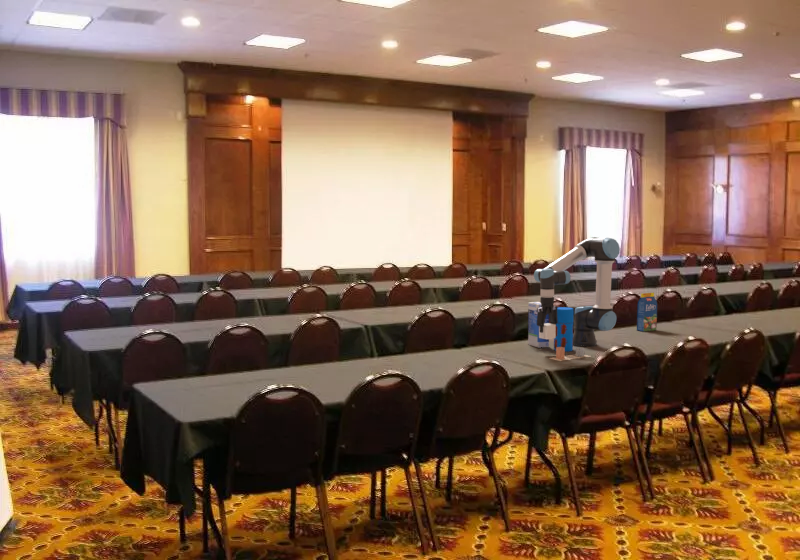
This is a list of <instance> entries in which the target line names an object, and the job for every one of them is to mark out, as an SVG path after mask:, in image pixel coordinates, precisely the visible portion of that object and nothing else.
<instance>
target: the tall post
mask: <svg viewBox="0 0 800 560" xmlns="http://www.w3.org/2000/svg"><path fill="white" fill-rule="evenodd" d="M555 352H556V353H555V357H556V358H557V359H565V356H566V355H565V353H566V352H565V348H564V347H556V351H555Z"/></svg>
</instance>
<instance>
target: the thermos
mask: <svg viewBox="0 0 800 560" xmlns="http://www.w3.org/2000/svg"><path fill="white" fill-rule="evenodd" d="M557 307H558V308H557V318H558V323H557V324H556V338H553V351H555V352H556V347H564V348H565V353H566V352H572V351H573V349H574V345H573V334H574V313H575V310H574V308H573V307H568V306H566V307H565V306H563V307H562V306H557Z"/></svg>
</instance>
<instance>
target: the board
mask: <svg viewBox="0 0 800 560" xmlns="http://www.w3.org/2000/svg"><path fill="white" fill-rule="evenodd" d="M589 357H591V355H588V354H584V356H582V357H579V356H576V353H575V354H574V353H573V354H569V355H568V354H567V355H565V359H557V358H556V356H555V357H549V358H548V359H550V360H555V361H559V362H562V361H567V360H568V361H569V360H576V359H582V358H589Z"/></svg>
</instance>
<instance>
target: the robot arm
mask: <svg viewBox="0 0 800 560" xmlns="http://www.w3.org/2000/svg"><path fill="white" fill-rule="evenodd" d="M620 251H621V248H620V244H619V243H618V241H617V240H616V239H615V238H610V237H595V236H594V237H593V236H592V237H589V238H587V239H584V240H581V241H580V242H579V243H577V244H576V245H574V246H573V249H571V250H570V251H568V252H567V253H565V254H563V255H562V256H561V257H559V258H558V259H556V260H554V261H553V262H552V263H550V264H548V265H547V266H546V267H544V268H537V269H536V270H534V273H533V279H534V281H536V282H538V283H539V284H540V285H539V286H540V301H539V302H540V303H541V308H537V326H540V338H543V339H544V338H545V327H544V323H545V319H546V315H547V313H548V315H549V323H550V324H557V323H558V318H557V308H558V307H559V306H557V305H554V304H555V297H554V296H555V286H558V285H566V284H569V283H570V282H571V280H572V279H571V278H572V276H571V273H570V272H569V271H568V270H567V269H569V268H570V267H572V266H573V265H574V264H576V263H577V262H579V261H581V260H586V259H587V258H594V262H595V263H596V281H595V301H594V302H595V303H594V304H593V305H585V306H577V307H575V309H574V315H573V346H576V347H595V346H597V344H598V341H597V337H596V334H595V330H598V331H601V332H602V331H603V332H605V331H606V332H607V331H612V329H613V328H614V327H615V325H616V322H617V314H616V313H615V312H614V308H613V306H612V305H611V296H612V294H611V293H612V274H613V273H612V271H613V263H615V262H616V259H617V258H618V257H619V255H620V253H621V252H620Z"/></svg>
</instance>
